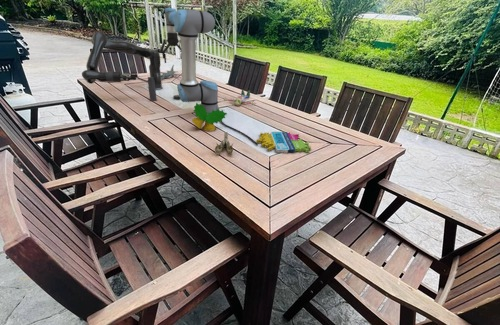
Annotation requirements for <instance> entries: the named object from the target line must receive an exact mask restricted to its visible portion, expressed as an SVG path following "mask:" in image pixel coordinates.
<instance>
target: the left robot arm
mask: <svg viewBox="0 0 500 325" xmlns="http://www.w3.org/2000/svg"><path fill="white" fill-rule="evenodd" d="M90 42H91V44H92V48H91V50H90V53H89V55H88V58H87V61H86V65H85V66H86V70H83V71H82V72H81V77H82V78H83V79H84V81H85V82H86V83H87V84H95V82H96V80H97V81H98V82H100V83H122V82H124V81H125V82H130V81H137V79H139V80H141V81H144V82H146V83H148V80H146V79H143V78H142V77H141V78H140V77H138V74H137V72H136V71H132V73H131V72H129V73H126V72H125V73H124V72H123V73H122V74H121V72H120V71H98V69H99V63H100V60H101V56H102V54H103V53H102V52H103V50H104V49H105V50H110V51H115V52H119V53H121V54H126V55H129V56H135V57H136V56H137V57H142V58H145V59H147V60H149V65H148V69H149V70H148V71H149V77H154V81H155V90H161V89H163V82H162V80H161V75H162V73H160V72H161V54H160V51H158V50H157V49H153V48H147V47H142V46H139V45H137V44H135V43H133V42H128V41H126V40H110V39H108V37H107V35H106V34H105V33H104V32H102V31H96V32H95V33H93V35H92V36H91V38H90Z"/></svg>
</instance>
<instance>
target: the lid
mask: <svg viewBox="0 0 500 325" xmlns="http://www.w3.org/2000/svg"><path fill="white" fill-rule="evenodd" d="M172 98H173V100H176V101H178V100H181V99H180V97H179V94H175V95H173V96H172Z"/></svg>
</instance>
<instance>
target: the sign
mask: <svg viewBox="0 0 500 325" xmlns="http://www.w3.org/2000/svg"><path fill="white" fill-rule="evenodd" d="M299 136H300V135H299V134H298V133H296V134H294V133H291V132H287V131H270V132H264V133H263V132H260V133H259V139H258V138H257V139H256V140H255V142H256V143H257V144H261V148H263V147H264V148H265V149H267V151H268V152H271V151H272V150H273V149H275V152H276V153H283V154H285V153H287V154H288V153H290V154H293V153H296V152H298V153H301V152H305V153H310V151H311V150H312V149H311V148H312V146H309V142H304V141H303V139H302V138H299Z"/></svg>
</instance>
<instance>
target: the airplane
mask: <svg viewBox="0 0 500 325" xmlns="http://www.w3.org/2000/svg"><path fill="white" fill-rule="evenodd" d="M174 66H175V65H174V64H172V66H171V68H170V70H166V72H163V71H162V72H161V71H160V73H161V81H163V80H165V79H171V78H173V77H174V78H176V77H177V76H182V73H177V71H175V70H174Z"/></svg>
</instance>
